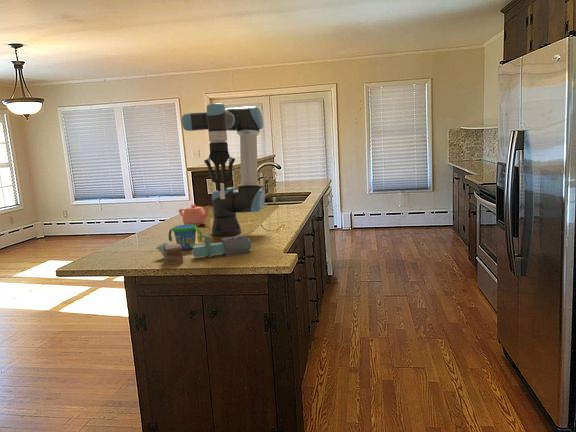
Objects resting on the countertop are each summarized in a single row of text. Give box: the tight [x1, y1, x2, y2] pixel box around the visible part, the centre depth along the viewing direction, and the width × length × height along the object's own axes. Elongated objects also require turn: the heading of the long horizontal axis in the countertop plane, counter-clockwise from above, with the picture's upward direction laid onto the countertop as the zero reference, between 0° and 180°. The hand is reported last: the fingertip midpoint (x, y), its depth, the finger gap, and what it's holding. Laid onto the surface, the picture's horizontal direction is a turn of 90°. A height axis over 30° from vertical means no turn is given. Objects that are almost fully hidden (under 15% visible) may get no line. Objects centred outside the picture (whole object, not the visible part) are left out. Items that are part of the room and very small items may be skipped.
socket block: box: [164, 243, 184, 265], centre depth 186 cm, size 7×6×6 cm
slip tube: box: [192, 233, 253, 259], centre depth 192 cm, size 6×24×9 cm, turn 110°
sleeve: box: [220, 235, 250, 257], centre depth 194 cm, size 7×10×6 cm, turn 110°
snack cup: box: [168, 224, 203, 251], centre depth 209 cm, size 16×10×10 cm
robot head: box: [155, 241, 172, 258], centre depth 193 cm, size 8×4×7 cm, turn 83°
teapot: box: [178, 204, 212, 228], centre depth 268 cm, size 13×20×12 cm, turn 80°
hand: (222, 198), depth 194 cm, fingers closed
